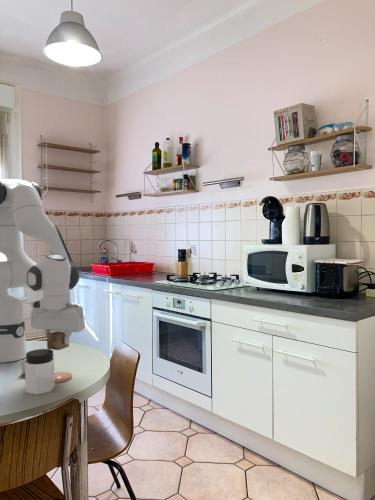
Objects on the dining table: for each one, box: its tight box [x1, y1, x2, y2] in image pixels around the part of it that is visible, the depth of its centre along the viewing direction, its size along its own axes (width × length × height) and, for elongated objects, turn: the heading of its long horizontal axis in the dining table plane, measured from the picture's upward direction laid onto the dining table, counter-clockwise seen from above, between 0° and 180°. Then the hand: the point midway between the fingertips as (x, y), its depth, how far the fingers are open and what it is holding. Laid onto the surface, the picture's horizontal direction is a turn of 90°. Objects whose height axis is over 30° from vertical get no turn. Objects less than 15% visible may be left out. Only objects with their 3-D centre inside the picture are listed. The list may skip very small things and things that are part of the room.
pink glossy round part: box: [54, 371, 73, 384], centre depth 141 cm, size 9×9×1 cm
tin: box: [20, 359, 26, 377], centre depth 145 cm, size 5×5×5 cm
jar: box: [24, 348, 56, 396], centre depth 130 cm, size 9×8×12 cm
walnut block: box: [46, 330, 70, 351], centre depth 140 cm, size 5×5×5 cm
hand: (58, 343), depth 140 cm, fingers closed on walnut block, 5 cm apart
